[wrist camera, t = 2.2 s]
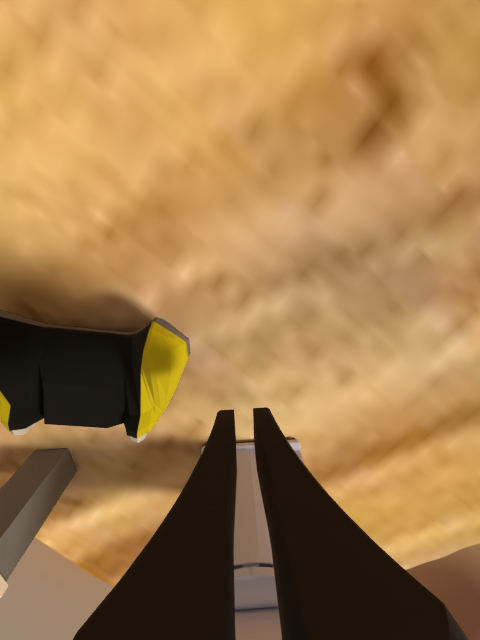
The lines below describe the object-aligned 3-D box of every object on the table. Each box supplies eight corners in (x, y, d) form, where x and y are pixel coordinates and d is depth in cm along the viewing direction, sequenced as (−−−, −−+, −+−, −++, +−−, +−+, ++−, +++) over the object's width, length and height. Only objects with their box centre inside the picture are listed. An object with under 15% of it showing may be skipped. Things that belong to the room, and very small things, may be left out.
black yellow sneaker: (-14, 281, 17) (13, 396, 20) (-121, 302, 12) (-61, 452, 15) (197, 304, 18) (190, 409, 22) (184, 333, 13) (177, 465, 16)
